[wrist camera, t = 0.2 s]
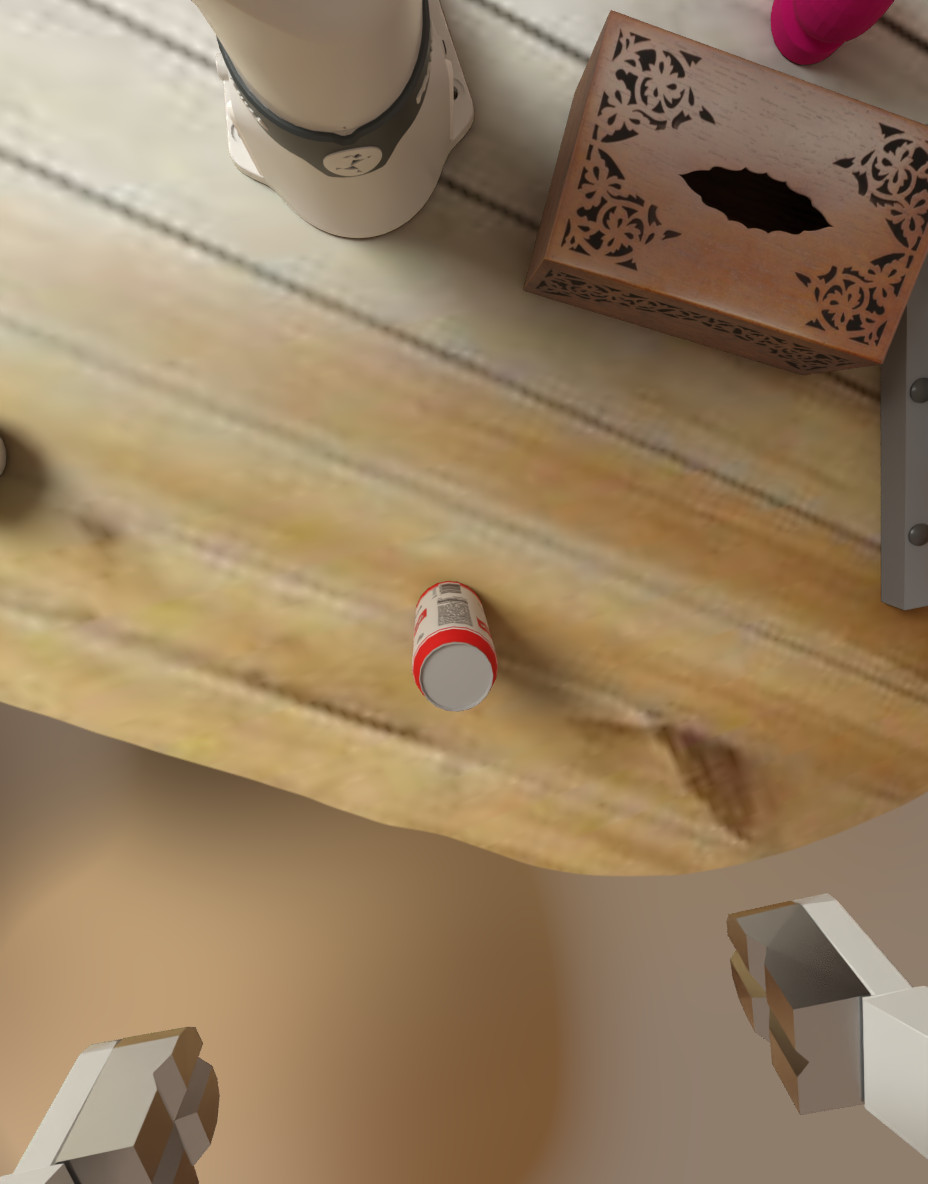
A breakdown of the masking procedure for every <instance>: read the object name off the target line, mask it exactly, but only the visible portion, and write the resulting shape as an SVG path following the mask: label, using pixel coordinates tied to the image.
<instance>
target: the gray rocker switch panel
mask: <svg viewBox="0 0 928 1184" xmlns="http://www.w3.org/2000/svg"><path fill="white" fill-rule="evenodd" d="M926 125H927V126H928V124H926ZM881 602H884V603H886V604H889V605H892V606H894V607H897V608H899V609H902V610H909V609H914V608H919V607H924V606H928V253H927V255H926V258H925V260H924V263H923V265H922V268H921V270H920V273H919V275H918V278H917V280H916V283H915V285H914V287H913V290H912V292H911V295H910V297H909V300H908V302H907V305H906V307H905V310H904V312H903V315H902V317H901V319H900V322H899V324H898V327H897V329H896V332H895V334H894V337H893V339H892V342H891V344H890V347H889V349H888V351H887V354H886V356H885V359H884V361H883V364H881Z"/></svg>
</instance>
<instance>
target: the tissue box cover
mask: <svg viewBox="0 0 928 1184" xmlns="http://www.w3.org/2000/svg"><path fill="white" fill-rule="evenodd" d="M927 253H928V126H927V125H924V124H921V123H918V122H916V121H913V120H910V119H907V118H905V117H902V116H899V115H897V114H894V113H891V112H888V111H886V110H883V109H880V108H877V107H875V106H872V105H869V104H866V103H864V102H861V101H858V100H856V99H853V98H850V97H847V96H845V95H842V94H839V93H836V92H834V91H831V90H828V89H825V88H823V87H820V86H817V85H815V84H812V83H809V82H806V81H804V80H801V79H798V78H795V77H793V76H790V75H787V74H784V73H782V72H779V71H776V70H774V69H771V68H768V67H765V66H763V65H760V64H757V63H754V62H752V61H749V60H746V59H743V58H741V57H738V56H735V55H733V54H730V53H727V52H724V51H722V50H719V49H716V48H713V47H711V46H708V45H705V44H702V43H700V42H697V41H694V40H691V39H689V38H686V37H683V36H681V35H678V34H675V33H672V32H670V31H667V30H664V29H661V28H659V27H656V26H653V25H650V24H648V23H645V22H642V21H640V20H637V19H634V18H631V17H629V16H626V15H623V14H620V13H618V12H615V11H612V10H611V11H610V13H609V15H608V17H607V20H606V22H605V24H604V27H603V29H602V31H601V34H600V36H599V38H598V41H597V43H596V45H595V47H594V50H593V52H592V54H591V57H590V59H589V61H588V64H587V66H586V68H585V70H584V73H583V75H582V77H581V80H580V82H579V84H578V87H577V89H576V91H575V94H574V98H573V101H572V105H571V109H570V113H569V117H568V121H567V124H566V128H565V132H564V136H563V140H562V143H561V147H560V151H559V155H558V159H557V163H556V166H555V170H554V174H553V178H552V182H551V185H550V189H549V193H548V197H547V201H546V204H545V208H544V212H543V216H542V220H541V224H540V227H539V231H538V235H537V239H536V243H535V246H534V250H533V254H532V258H531V262H530V266H529V269H528V273H527V277H526V281H525V285H524V288H523V290H524V291H527V292H531V293H534V294H537V295H541V296H544V297H547V298H550V299H554V300H557V301H560V302H564V303H567V304H570V305H574V306H577V307H580V308H583V309H587V310H590V311H593V312H597V313H600V314H603V315H607V316H610V317H613V318H616V319H620V320H623V321H626V322H630V323H633V324H636V325H639V326H643V327H646V328H649V329H653V330H656V331H659V332H663V333H666V334H669V335H672V336H676V337H679V338H682V339H686V340H689V341H692V342H696V343H699V344H702V345H705V346H709V347H712V348H715V349H719V350H722V351H725V352H729V353H732V354H735V355H738V356H742V357H745V358H748V359H752V360H755V361H758V362H762V363H765V364H768V365H771V366H775V367H778V368H781V369H785V370H788V371H791V372H794V373H798V374H801V375H808V374H815V373H822V372H829V371H836V370H843V369H850V368H858V367H865V366H872V365H879V364H883V361H884V359H885V356H886V354H887V351H888V349H889V347H890V344H891V342H892V339H893V337H894V334H895V332H896V329H897V327H898V324H899V322H900V319H901V317H902V315H903V312H904V310H905V307H906V305H907V302H908V300H909V297H910V295H911V292H912V290H913V287H914V285H915V283H916V280H917V278H918V275H919V273H920V270H921V268H922V265H923V263H924V260H925V258H926V255H927Z"/></svg>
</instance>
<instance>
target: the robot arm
mask: <svg viewBox="0 0 928 1184" xmlns="http://www.w3.org/2000/svg"><path fill="white" fill-rule="evenodd" d="M191 1H192V2H193V3H194V4H195V5H196V6H197V7H198V9H199V10H200V12H201V13H202V14H203V16H204V17H205V19H206V20H207V22H208V23H209V25H210V26H211V28H212V29H213V31H214V32H215V34H216V37H217V41H218V44H219V48H220V51H221V53H220V54H216V56H215V59H216V67H217V71H218V75H219V77H220V79H221V80H223V85H224V97H225V110H226V123H227V136H228V149H229V154H230V156H231V159H232V161H233V163H234V165H235V166H236V167H237V168H238V169H239V170H240V171H241V172H242V173H244V174H246V175H247V176H249V177H251V178H253V179H255V180H257V181H259V182H261V183H263V184H266V185H268V186H269V187H271V188H272V189H273V190H274V191H275V192H276V193H277V194H278V195H279V196H280V197H281V198H282V199H283V200H284V201H285V202H286V203H287V204H288V206H289V207H290V208H291V209H292V210H293V211H294V212H295V213H297V214H298V215H299V216H300V217H301V218H303V219H304V220H305V221H307V222H308V223H310V224H311V225H313V226H315V227H317V228H319V229H321V230H323V231H325V232H328V233H331V234H334V235H338V236H342V237H349V238H368V237H374V236H378V235H382V234H385V233H387V232H390V231H392V230H394V229H396V228H398V227H400V226H401V225H403V224H404V223H406V222H407V221H409V220H410V219H411V218H412V217H413V216H414V215H415V214H416V213H417V212H418V211H419V210H420V209H421V208H422V207H423V206H424V204H425V203H426V202H427V200H428V199H429V197H430V196H431V194H432V192H433V190H434V189H435V187H436V184H437V182H438V180H439V177H440V174H441V172H442V169H443V166H444V163H445V161H446V159H447V156H448V155H449V153H450V151H451V150H452V149H453V148H454V147H455V146H456V145H457V144H458V142H459V141H460V140H461V139H462V138H463V137H464V136H465V134H466V133H467V132H468V130H469V129H470V127H471V125H472V123H473V120H474V108H473V102H472V99H471V96H470V93H469V90H468V87H467V84H466V81H465V78H464V75H463V72H462V69H461V66H460V63H459V60H458V57H457V54H456V51H455V48H454V45H453V42H452V39H451V36H450V33H449V30H448V27H447V24H446V21H445V18H444V15H443V12H442V9H441V6H440V3H439V0H191ZM454 92H456V93H457V95H458V97H457V98H456V99H455V100H454ZM240 138H241V139H240ZM727 933H728V937H729V938H730V940H731V942H732V943H733V945H734V947H735V949H736V951H735V952H734V954H733V955H732V957H731V958H730V962H731V969H732V977H733V981H734V984H735V988H736V991H737V994H738V998H739V1000H740V1003H741V1005H742V1007H743V1009H744V1012H745V1014H746V1016H747V1018H748V1020H749V1022H750V1024H751V1026H752V1027H753V1029H754V1031H755V1033H757V1034H758V1035H760V1036H761V1037H763V1038H764V1039H766V1040H767V1041H769V1042H770V1047H771V1057H772V1065H773V1066H774V1068H775V1070H776V1072H777V1074H778V1076H779V1077H780V1079H781V1081H782V1083H783V1084H784V1087H785V1088H786V1090H787V1092H788V1094H789V1096H790V1098H791V1099H792V1101H793V1103H794V1105H795V1107H796V1109H797V1110H798V1112H799V1114H800V1115H804V1114H809V1113H816V1112H821V1111H827V1110H833V1109H839V1108H845V1107H851V1106H856V1105H862V1104H865V1109H867V1110H868V1111H869V1112H870V1113H872V1114H873V1115H874V1116H875V1117H876V1118H878V1119H879V1120H880V1121H881V1122H883V1123H884V1124H885V1125H886V1126H887V1127H889V1128H890V1129H891V1130H893V1131H894V1132H895V1133H896V1134H897V1135H899V1136H900V1137H901V1138H902V1139H904V1140H905V1141H906V1142H907V1143H908V1144H910V1145H911V1146H912V1147H913V1148H915V1149H916V1150H917V1151H918V1152H919V1153H921V1154H922V1155H923V1156H924V1157H926V1158H927V1159H928V987H926V986H918V987H913V986H912V985H911V984H910V983H909V982H908V981H907V980H906V978H904V976H903V975H902V974H901V973H900V972H899V970H898V969H897V968H896V967H895V966H894V965H893V964H892V962H891V961H890V960H889V959H888V958H887V957H886V956H885V954H884V953H883V952H882V951H881V950H880V949H879V948H878V946H877V945H876V944H875V943H874V942H873V941H872V940H871V938H870V937H869V936H868V935H867V934H866V933H865V932H864V930H863V929H862V928H861V927H860V926H859V925H858V924H857V923H856V921H855V920H854V919H853V918H852V917H851V916H850V914H848V912H847V911H846V910H845V909H844V908H843V907H842V905H841V904H840V903H839V902H838V901H837V900H836V899H835V898H834V897H833V896H831V895H829V894H827V893H826V894H821V895H816V896H812V897H807V898H802V899H797V900H794V901H787V902H783V903H778V904H773V905H769V906H764V907H760V908H755V909H751V910H746V911H742V912H737V913H732V914H728V918H727ZM202 1045H203V1042H202V1040H201V1038H200V1036H199V1034H198V1032H197V1030H196V1027H184V1028H178V1029H172V1030H167V1031H161V1032H156V1033H150V1034H144V1035H138V1036H133V1037H128V1038H123V1039H119V1040H114V1041H108V1042H103V1043H97V1044H92V1045H90V1046H89V1047H88V1048H87V1049H86V1050H85V1051H83V1052H82V1053H81V1054H80V1055H79V1057H78V1058H77V1060H76V1062H75V1064H74V1066H73V1067H72V1069H71V1071H70V1073H69V1074H68V1076H67V1078H66V1080H65V1082H64V1083H63V1085H62V1087H61V1089H60V1090H59V1092H58V1094H57V1096H56V1097H55V1099H54V1101H53V1103H52V1105H51V1107H50V1108H49V1110H48V1112H47V1114H46V1115H45V1117H44V1119H43V1121H42V1122H41V1124H40V1126H39V1128H38V1130H37V1132H36V1133H35V1135H34V1137H33V1138H32V1140H31V1142H30V1144H29V1146H28V1147H27V1149H26V1151H25V1153H24V1155H23V1156H22V1158H21V1160H20V1162H19V1163H18V1165H17V1167H16V1169H15V1171H14V1172H13V1174H8V1175H4V1176H1V1177H0V1184H199V1181H198V1177H197V1174H196V1171H195V1168H194V1165H195V1164H196V1162H197V1161H198V1160H199V1158H200V1157H201V1156H202V1154H203V1153H204V1152H205V1151H206V1150H207V1148H208V1147H209V1146H210V1144H211V1141H212V1138H213V1134H214V1131H215V1127H216V1124H217V1117H218V1107H219V1088H218V1081H217V1077H216V1074H215V1072H214V1069H213V1066H212V1065H210V1064H209V1063H207V1062H205V1061H204V1060H202V1059H201V1058H199V1057H198V1056H199V1053H200V1051H201V1048H202Z"/></svg>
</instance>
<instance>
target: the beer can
mask: <svg viewBox="0 0 928 1184" xmlns="http://www.w3.org/2000/svg"><path fill="white" fill-rule="evenodd" d="M497 670H498V661H497V656H496V651H495V648H494V644H493V641H492V637H491V634H490V631H489V627H488V624H487V620H486V617H485V613H484V610H483V607H482V603H481V601H480V599H479V598H478V596H477V594H476V593H475V592H474V591H473V590H472V589H471V588H469V587H468V586H466V585H464V584H462V583H459V582H452V581H445V582H441V583H437V584H435V585H433V586H431V587H430V588H428V589H427V590H426V591H425V592H424V593H423V594H422V596H421V597H420V599H419V601H418V604H417V606H416V615H415V629H414V644H413V659H412V672H413V676H414V680H415V683H416V685H417V686H418V688H419V689H420V691H421V693H422V694H423V695H424V696H425V697H426V698H427V700H429V701H430V702H431V703H432V704H434V705H435V706H436V707H439V708H441V709H444V710H446V711H457V712H459V711H463V710H468V709H471V708H472V707H474V706H476V705H478V704H480V702H481V701H482V700H483V699H484V698H485V697H486V696H487V695H488V693H489V691H490V690H491V688H492V686H493V684H494V682H495V680H496V677H497Z"/></svg>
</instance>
